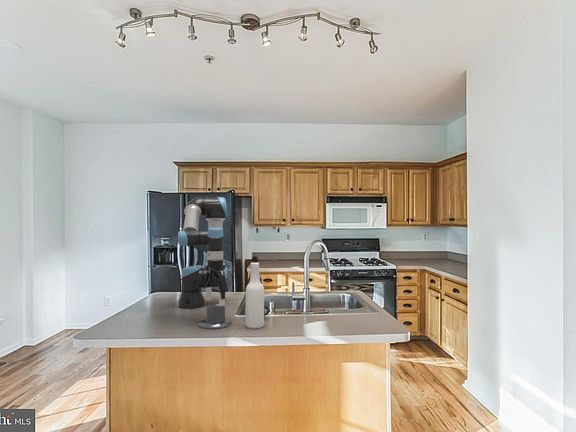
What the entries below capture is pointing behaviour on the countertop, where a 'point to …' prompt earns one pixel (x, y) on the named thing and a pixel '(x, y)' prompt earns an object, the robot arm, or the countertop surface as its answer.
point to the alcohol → (254, 299)
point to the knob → (215, 314)
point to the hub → (207, 325)
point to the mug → (264, 310)
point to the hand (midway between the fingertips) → (215, 303)
